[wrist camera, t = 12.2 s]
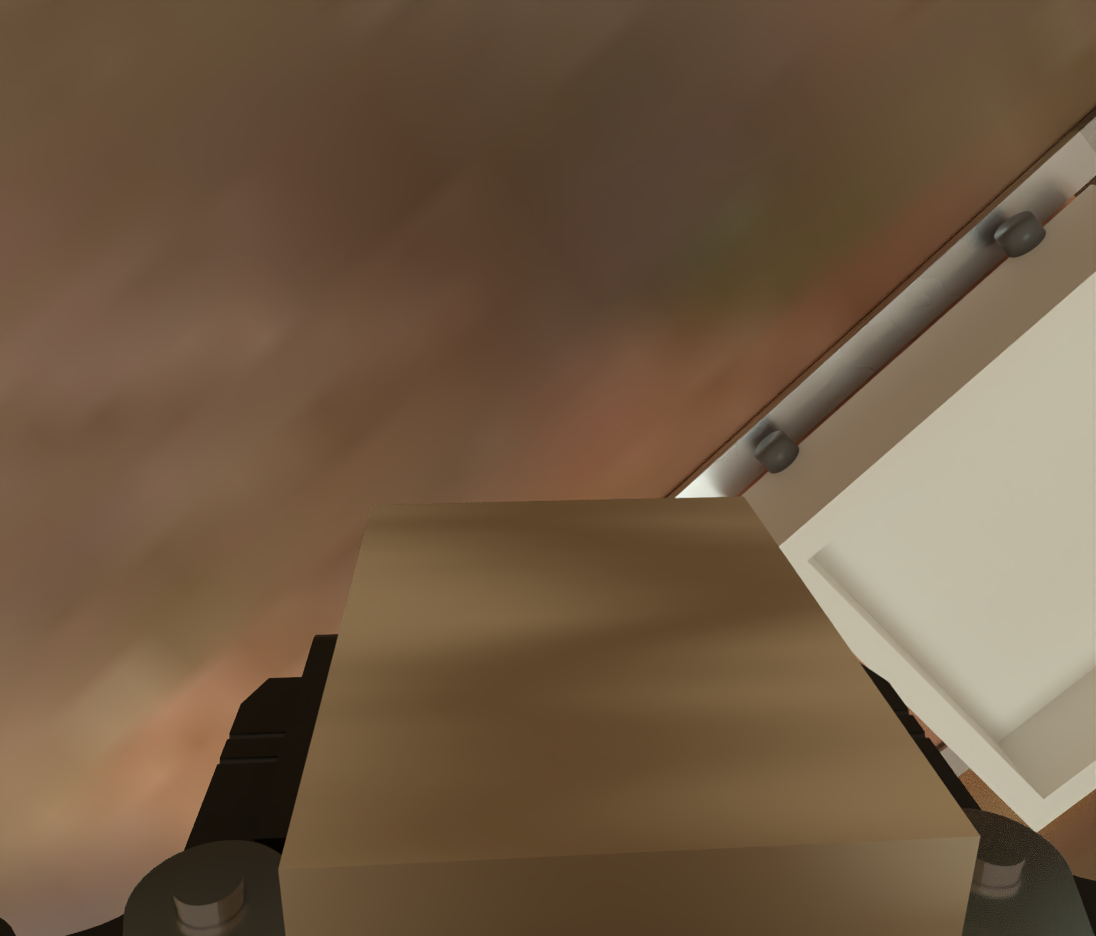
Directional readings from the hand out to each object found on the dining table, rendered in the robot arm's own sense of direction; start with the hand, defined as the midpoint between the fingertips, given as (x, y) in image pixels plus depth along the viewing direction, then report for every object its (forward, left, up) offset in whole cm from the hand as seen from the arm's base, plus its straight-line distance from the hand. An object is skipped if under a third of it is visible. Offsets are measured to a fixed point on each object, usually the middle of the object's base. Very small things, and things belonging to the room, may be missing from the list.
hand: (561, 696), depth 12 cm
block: (0, 0, -1) cm, 1 cm away
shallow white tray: (-14, +3, -15) cm, 21 cm away
